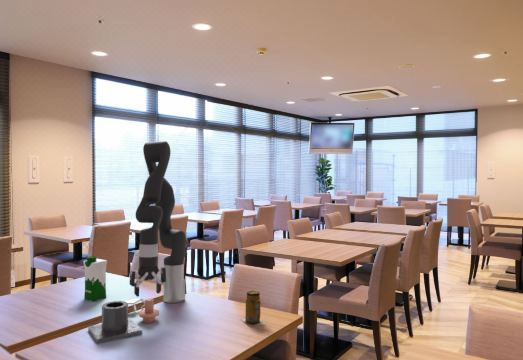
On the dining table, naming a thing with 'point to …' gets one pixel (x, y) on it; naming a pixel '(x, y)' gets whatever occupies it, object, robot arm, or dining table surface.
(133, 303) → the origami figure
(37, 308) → the dining table surface
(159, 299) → the dining table surface
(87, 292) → the milk carton
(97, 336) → the flanged pipe socket
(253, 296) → the condiment
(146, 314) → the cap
